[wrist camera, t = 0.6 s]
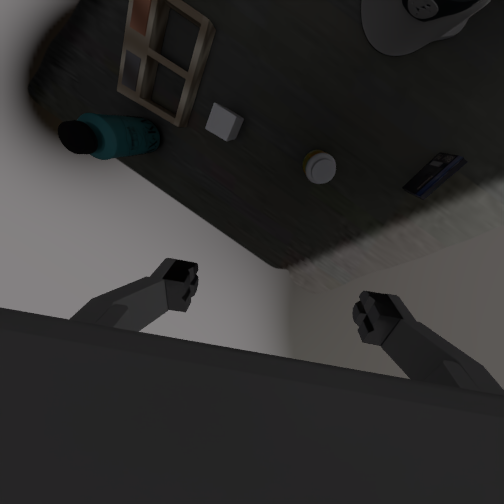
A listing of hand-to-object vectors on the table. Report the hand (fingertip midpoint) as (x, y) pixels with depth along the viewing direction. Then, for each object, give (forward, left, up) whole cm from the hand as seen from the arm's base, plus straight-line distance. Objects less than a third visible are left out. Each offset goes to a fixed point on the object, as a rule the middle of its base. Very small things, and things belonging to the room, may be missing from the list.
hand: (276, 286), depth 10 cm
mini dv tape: (-13, +27, -41) cm, 50 cm away
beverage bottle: (+8, -27, -41) cm, 50 cm away
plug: (-2, -12, -41) cm, 42 cm away
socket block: (-5, -26, -41) cm, 49 cm away
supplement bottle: (-4, +7, -41) cm, 42 cm away
